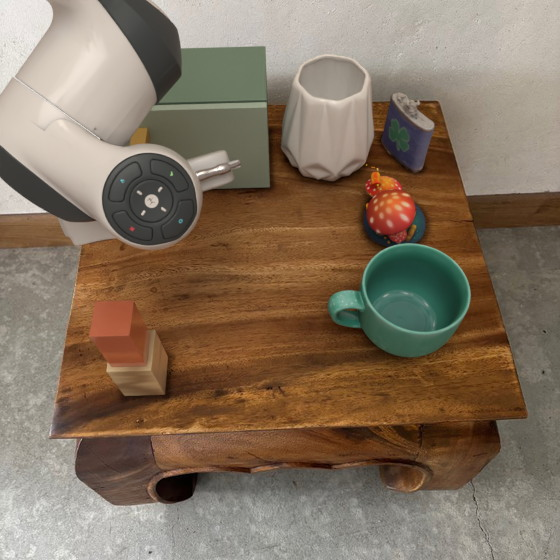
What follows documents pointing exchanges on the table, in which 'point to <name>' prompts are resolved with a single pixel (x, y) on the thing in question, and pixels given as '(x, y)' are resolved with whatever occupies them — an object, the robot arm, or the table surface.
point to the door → (213, 136)
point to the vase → (328, 117)
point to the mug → (406, 300)
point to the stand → (143, 372)
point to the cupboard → (220, 77)
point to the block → (120, 333)
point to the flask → (407, 132)
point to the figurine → (391, 213)
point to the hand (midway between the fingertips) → (145, 186)
